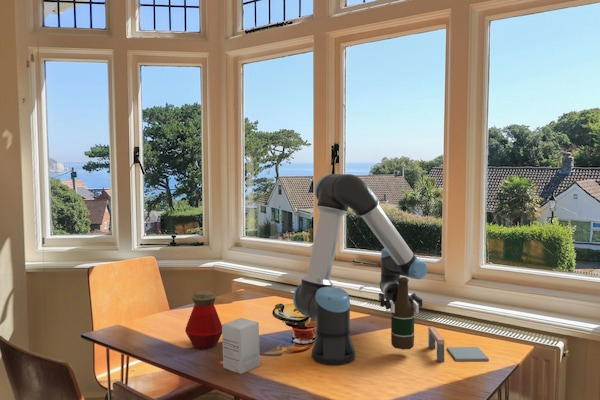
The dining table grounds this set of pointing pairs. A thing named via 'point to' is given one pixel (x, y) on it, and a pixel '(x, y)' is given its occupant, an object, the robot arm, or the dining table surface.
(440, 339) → the hurdle bar
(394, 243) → the robot arm
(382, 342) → the dining table surface
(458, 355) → the grey mat
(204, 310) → the red faceted jar
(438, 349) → the hurdle posts
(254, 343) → the supplement box
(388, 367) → the dining table surface
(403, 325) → the beer bottle
